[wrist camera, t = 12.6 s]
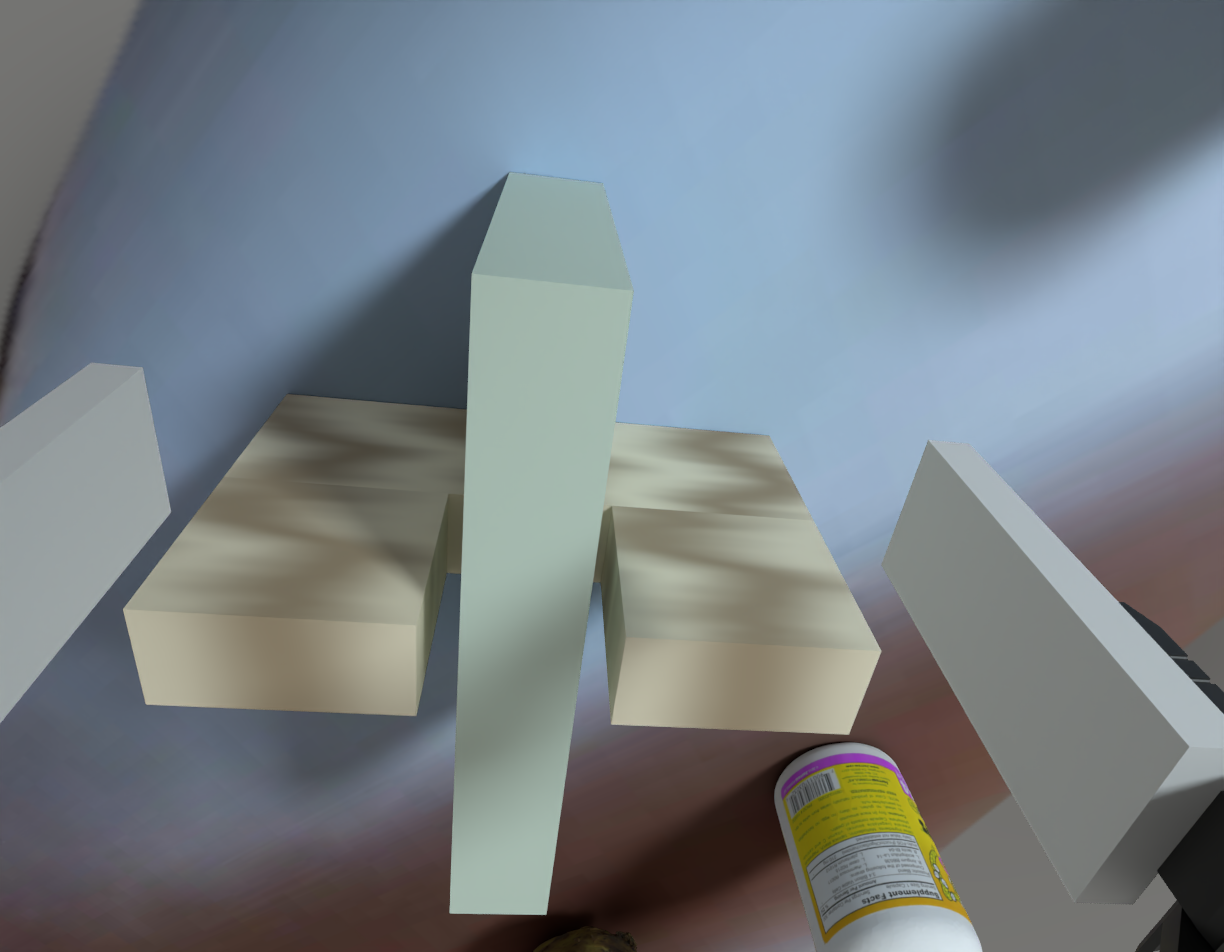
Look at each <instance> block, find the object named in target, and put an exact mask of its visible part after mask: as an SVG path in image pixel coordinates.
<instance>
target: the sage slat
mask: <svg viewBox="0 0 1224 952" xmlns="http://www.w3.org/2000/svg"><path fill="white" fill-rule="evenodd" d="M633 292H634V290H633V287H632V283H631V280H630V276H629V273H628V269H627V266H626V262H625V259H624V255H623V252H622V248H621V245H620V241H619V238H618V234H617V231H616V227H615V224H614V220H613V217H612V213H611V210H610V206H609V203H608V199H607V196H606V192H605V189H604V185H603V183H595V182H587V181H579V180H570V179H562V178H554V177H546V176H538V175H529V174H521V173H513V172H509V175H508V178H507V180H506V183H505V186H504V188H503V191H502V194H501V196H500V199H499V202H498V204H497V207H496V210H495V212H494V215H493V218H492V221H491V223H490V226H489V229H488V231H487V234H486V237H485V239H484V242H483V245H482V247H481V250H480V253H479V255H478V258H477V261H476V263H475V266H474V269H473V271H472V279H471V308H470V337H469V366H468V395H467V424H466V453H465V482H464V511H463V540H462V569H461V598H460V627H459V656H458V685H457V714H456V743H455V772H454V801H453V830H452V859H451V888H450V913H456V914H523V915H546V914H547V907H548V899H549V892H550V885H551V878H552V871H553V864H554V857H555V849H556V842H557V835H558V828H559V821H560V814H561V806H562V799H563V792H564V785H565V778H566V771H567V764H568V756H569V749H570V742H571V735H572V728H573V721H574V714H575V706H576V699H577V692H578V685H579V678H580V671H581V664H582V656H583V649H584V642H585V635H586V628H587V621H588V614H589V606H590V599H591V592H592V585H593V578H594V571H595V564H596V556H597V549H598V542H599V535H600V528H601V521H602V514H603V506H604V499H605V492H606V485H607V478H608V471H609V463H610V456H611V449H612V442H613V435H614V428H615V421H616V413H617V406H618V399H619V392H620V385H621V378H622V371H623V363H624V356H625V349H626V342H627V335H628V328H629V321H630V313H631V306H632V299H633Z"/></svg>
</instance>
